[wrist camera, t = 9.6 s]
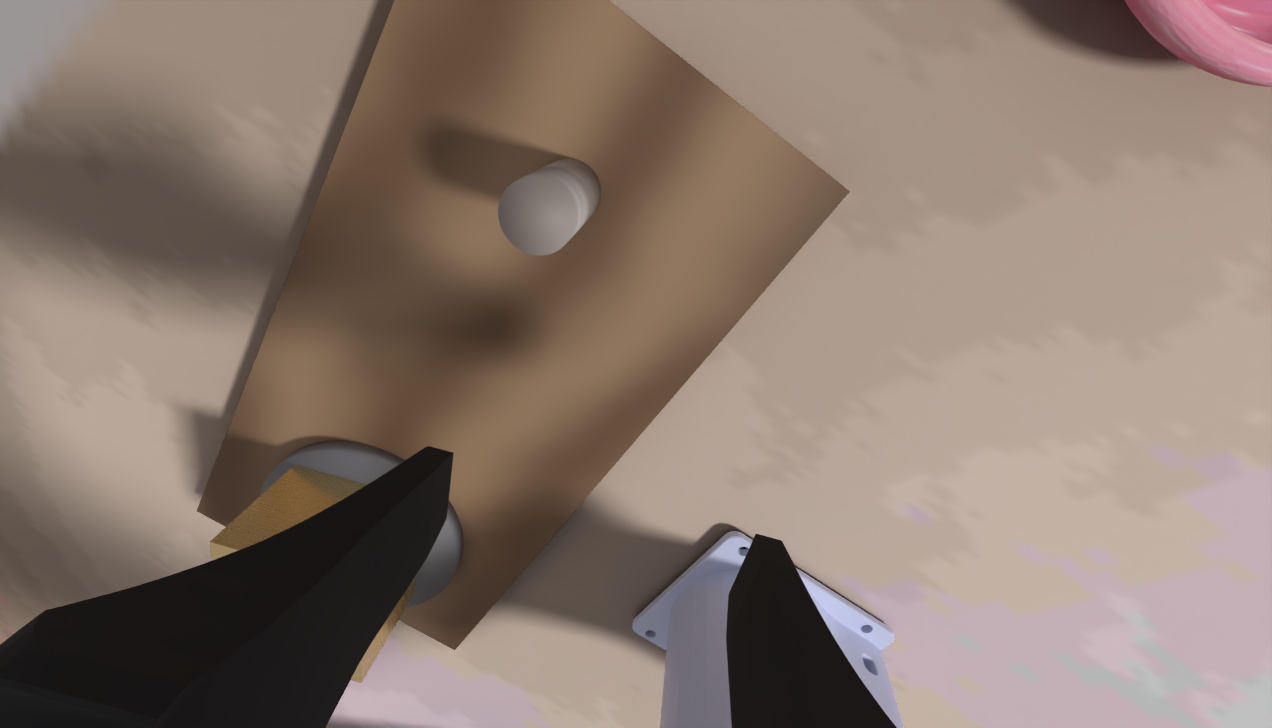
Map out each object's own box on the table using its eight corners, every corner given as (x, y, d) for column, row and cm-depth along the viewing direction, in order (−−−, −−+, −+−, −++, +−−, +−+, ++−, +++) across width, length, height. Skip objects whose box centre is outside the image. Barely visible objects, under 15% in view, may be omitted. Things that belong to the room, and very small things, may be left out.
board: (842, 186, 18) (888, 221, 13) (462, 633, 30) (416, 734, 25) (460, -119, 16) (354, -203, 11) (213, 497, 28) (112, 580, 23)
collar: (424, 500, 24) (365, 585, 20) (415, 591, 26) (361, 682, 22) (295, 464, 24) (209, 541, 20) (298, 558, 26) (223, 643, 22)
